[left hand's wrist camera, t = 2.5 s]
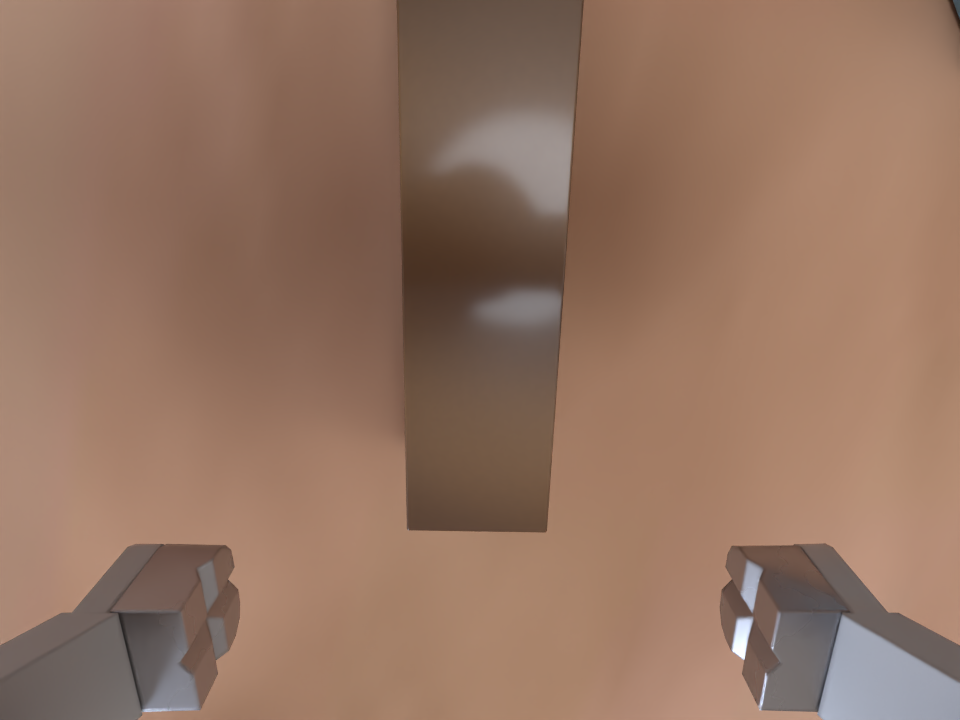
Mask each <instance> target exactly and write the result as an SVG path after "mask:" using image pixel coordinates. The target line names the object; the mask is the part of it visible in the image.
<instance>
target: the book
mask: <svg viewBox="0 0 960 720" xmlns="http://www.w3.org/2000/svg"><path fill="white" fill-rule="evenodd" d="M953 2H954V5H955V7H956V10H957V13H958V15H959V18H960V0H953Z"/></svg>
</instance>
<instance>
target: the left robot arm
mask: <svg viewBox="0 0 960 720" xmlns="http://www.w3.org/2000/svg"><path fill="white" fill-rule="evenodd" d="M233 569H234V562H233V557H232V552H231V549H229V548H228V547H227V546H226V545H190V544H165V545H164V544H134V545H132V546H129V547H127V548H126V549H125V551H124V552H123V553H122V554H121V555H120V556H119V558H118V559H117V560H116V561H115V562H114V564H113V565H112V566H111V567H110V568H109V569H108V571H107V572H106V573H105V574H104V575H103V577H102V578H101V579H100V580H99V581H98V582H97V584H96V585H95V586H94V587H93V588H92V589H91V591H90V592H89V593H88V594H87V595H86V597H85V598H84V599H83V600H82V601H81V602H80V604H79V605H78V606H77V607H76V608H75V610H74V611H73V612H72V613H60V614H59V615H57V616H55V617H53V618H51V619H49V620H47V621H45V622H44V623H42V624H40V625H38V626H36V627H34V628H32V629H30V630H29V631H27V632H25V633H23V634H21V635H19V636H17V637H15V638H13V639H12V640H10V641H8V642H6V643H4V644H2V645H0V720H137V719H138V718H140V717H141V716H142V712H152V711H186V710H201V707H202V705H203V703H204V701H205V699H206V697H207V695H208V693H209V691H210V689H211V687H212V685H213V683H214V681H215V679H216V677H217V675H218V671H217V665H216V660H217V659H218V658H220V657H221V656H222V655H224V654H225V653H226V652H228V651H229V649H230V647H231V645H232V643H233V641H234V638H235V636H236V632H237V627H238V623H239V618H240V599H239V592H238V589H237V588H236V587H235V586H234V585H233V584H232V583H231V582H230V581H229V580H228V578H229V576H230V574H231V573H232V571H233ZM726 569H727V571H728V573H729V574H730V576H731V578H732V580H731V581H730V582H729V583H728V584H727V585H726V586H725V587H724V588H723V589H722V592H721V601H720V615H721V625H722V629H723V632H724V636H725V639H726V641H727V643H728V645H729V647H730V649H731V651H732V652H734V653H735V654H736V655H738V656H739V657H740V658H742V659H743V660H744V665H743V671H742V675H743V677H744V679H745V681H746V683H747V685H748V687H749V689H750V691H751V693H752V695H753V697H754V699H755V701H756V703H757V705H758V707H759V709H760V710H773V711H808V712H818V714H817V715H818V716H820V717H821V718H822V719H823V720H960V645H958V644H956V643H954V642H952V641H950V640H948V639H946V638H945V637H943V636H941V635H939V634H937V633H935V632H933V631H931V630H930V629H928V628H926V627H924V626H922V625H920V624H918V623H916V622H915V621H913V620H911V619H909V618H907V617H905V616H903V615H901V614H900V613H888V612H887V611H886V610H885V608H884V607H883V606H882V605H881V604H880V602H879V601H878V600H877V599H876V598H875V597H874V595H873V594H872V593H871V592H870V591H869V590H868V588H867V587H866V586H865V585H864V584H863V582H862V581H861V580H860V579H859V578H858V577H857V575H856V574H855V573H854V572H853V571H852V570H851V568H850V567H849V566H848V565H847V564H846V562H845V561H844V560H843V559H842V558H841V557H840V555H839V554H838V553H837V552H836V551H835V550H834V548H833V547H831V546H829V545H827V544H794V545H786V546H731V548H730V550H729V552H728V555H727V561H726Z"/></svg>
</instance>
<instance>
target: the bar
mask: <svg viewBox="0 0 960 720" xmlns="http://www.w3.org/2000/svg"><path fill="white" fill-rule="evenodd" d="M583 3H584V0H397V34H398V86H399V138H400V190H401V242H402V294H403V346H404V398H405V450H406V502H407V529H408V530H427V531H490V532H546V531H547V520H548V506H549V491H550V477H551V463H552V448H553V434H554V419H555V405H556V391H557V376H558V362H559V348H560V333H561V319H562V305H563V290H564V276H565V261H566V247H567V233H568V218H569V204H570V190H571V175H572V161H573V147H574V132H575V118H576V103H577V89H578V75H579V60H580V46H581V32H582V17H583Z"/></svg>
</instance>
